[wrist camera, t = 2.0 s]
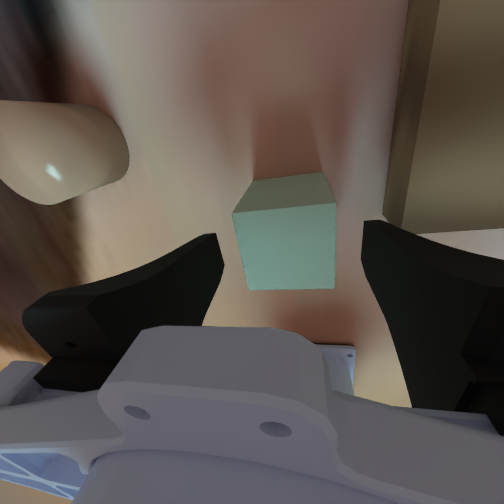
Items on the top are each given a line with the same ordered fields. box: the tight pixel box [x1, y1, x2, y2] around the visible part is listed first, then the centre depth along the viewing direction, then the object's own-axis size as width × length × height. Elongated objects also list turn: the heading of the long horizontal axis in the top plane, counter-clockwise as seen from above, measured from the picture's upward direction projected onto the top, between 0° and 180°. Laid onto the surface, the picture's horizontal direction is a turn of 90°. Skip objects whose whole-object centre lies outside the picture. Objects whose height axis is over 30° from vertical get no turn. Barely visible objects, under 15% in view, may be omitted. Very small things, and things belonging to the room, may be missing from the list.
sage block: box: [232, 172, 337, 290], centre depth 13 cm, size 4×4×6 cm
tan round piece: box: [0, 100, 129, 205], centre depth 14 cm, size 5×5×5 cm
